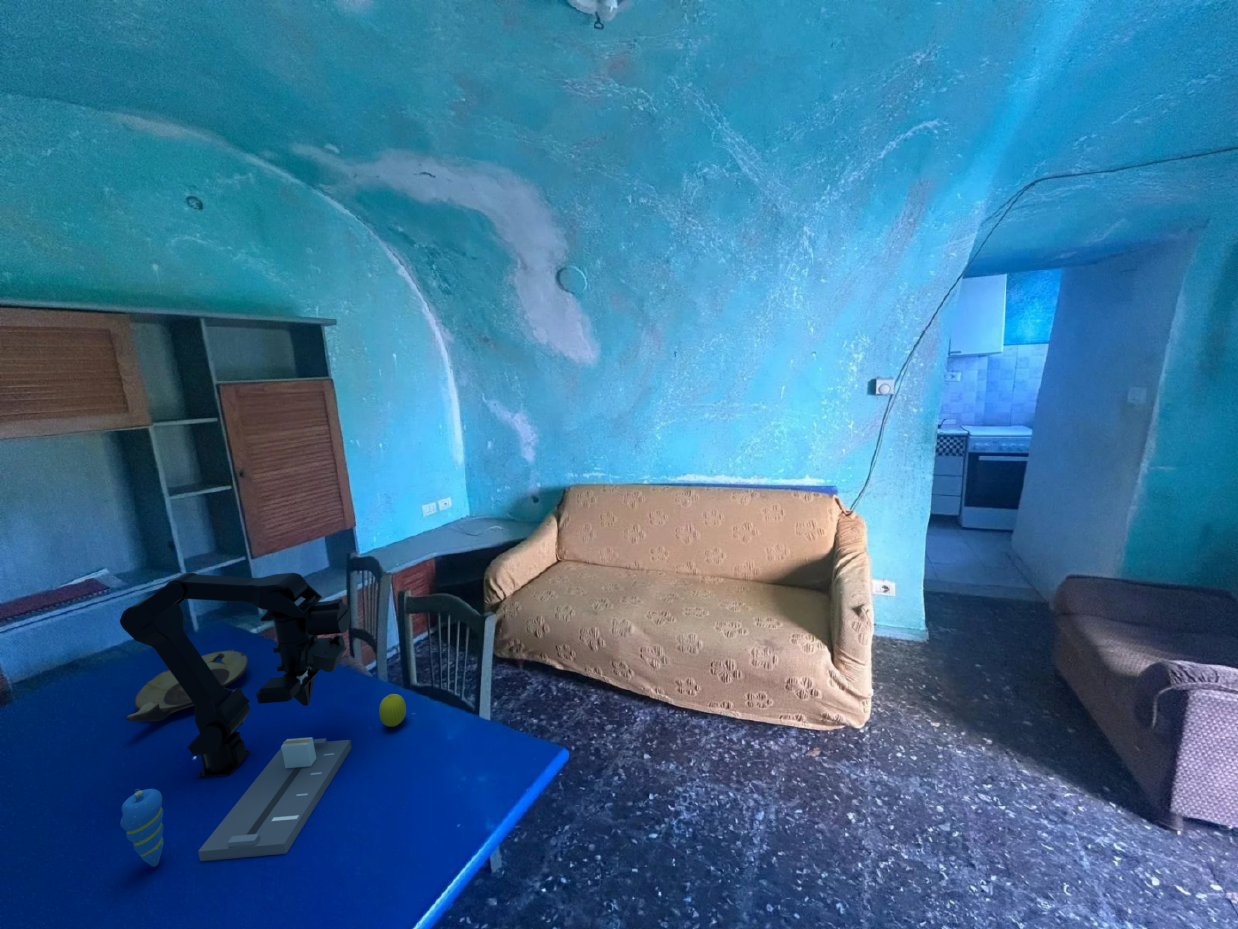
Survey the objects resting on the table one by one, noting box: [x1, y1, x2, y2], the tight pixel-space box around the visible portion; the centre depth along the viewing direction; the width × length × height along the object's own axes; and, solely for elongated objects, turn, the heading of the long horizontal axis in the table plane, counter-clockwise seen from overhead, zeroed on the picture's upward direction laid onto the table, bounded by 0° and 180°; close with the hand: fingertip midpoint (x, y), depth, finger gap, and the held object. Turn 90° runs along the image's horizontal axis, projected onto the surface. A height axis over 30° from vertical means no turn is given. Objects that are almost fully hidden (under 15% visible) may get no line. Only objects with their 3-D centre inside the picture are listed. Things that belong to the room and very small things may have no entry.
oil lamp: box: [124, 648, 249, 722], centre depth 127 cm, size 22×30×8 cm
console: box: [197, 737, 352, 862], centre depth 96 cm, size 14×24×3 cm, turn 3°
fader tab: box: [280, 737, 316, 768], centre depth 101 cm, size 5×2×5 cm, turn 94°
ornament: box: [120, 788, 165, 868], centre depth 83 cm, size 5×5×15 cm
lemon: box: [378, 693, 407, 728], centre depth 114 cm, size 6×6×8 cm
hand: (306, 704), depth 105 cm, fingers closed
